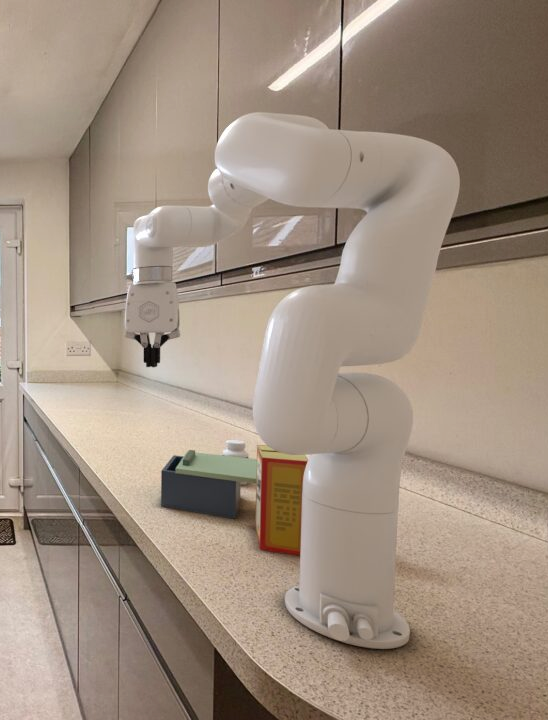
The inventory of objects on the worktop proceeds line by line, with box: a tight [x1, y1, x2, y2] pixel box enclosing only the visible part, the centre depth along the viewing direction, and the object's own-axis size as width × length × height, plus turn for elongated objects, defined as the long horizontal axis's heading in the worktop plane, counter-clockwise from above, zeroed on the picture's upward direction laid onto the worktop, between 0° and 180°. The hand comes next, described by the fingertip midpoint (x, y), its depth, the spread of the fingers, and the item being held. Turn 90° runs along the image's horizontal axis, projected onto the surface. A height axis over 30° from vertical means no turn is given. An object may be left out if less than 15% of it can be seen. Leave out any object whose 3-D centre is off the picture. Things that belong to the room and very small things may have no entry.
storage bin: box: [160, 454, 242, 520], centre depth 105 cm, size 14×14×8 cm
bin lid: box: [176, 449, 257, 485], centre depth 103 cm, size 15×15×2 cm
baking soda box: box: [254, 444, 309, 557], centre depth 85 cm, size 10×6×16 cm
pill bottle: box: [222, 439, 249, 486], centre depth 117 cm, size 5×5×10 cm
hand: (151, 366), depth 103 cm, fingers closed
